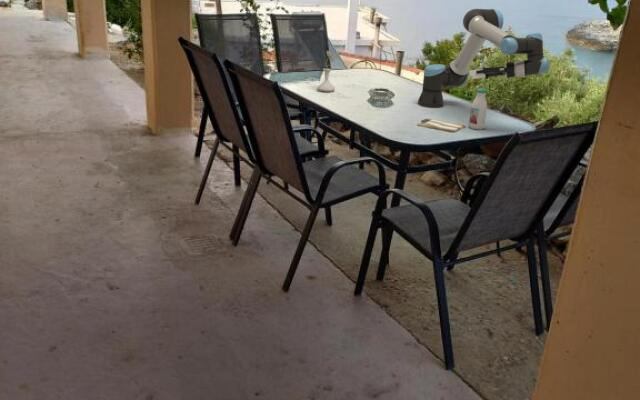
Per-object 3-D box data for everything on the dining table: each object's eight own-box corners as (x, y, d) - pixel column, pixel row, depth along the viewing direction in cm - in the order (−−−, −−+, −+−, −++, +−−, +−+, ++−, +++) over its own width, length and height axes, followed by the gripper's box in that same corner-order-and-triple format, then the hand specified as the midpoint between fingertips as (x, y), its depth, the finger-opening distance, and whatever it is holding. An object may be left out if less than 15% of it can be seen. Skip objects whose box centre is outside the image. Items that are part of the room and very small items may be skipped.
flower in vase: (335, 93, 370) (337, 52, 361) (316, 92, 370) (318, 51, 361) (334, 89, 382) (337, 50, 373) (317, 88, 382) (319, 49, 373)
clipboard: (429, 120, 315) (430, 116, 314) (465, 126, 305) (466, 123, 304) (416, 125, 303) (417, 122, 302) (453, 132, 292) (454, 129, 292)
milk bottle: (481, 126, 308) (487, 88, 300) (485, 130, 301) (491, 91, 293) (466, 125, 307) (472, 87, 300) (470, 129, 300) (476, 90, 293)
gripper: (514, 74, 279) (468, 79, 286) (516, 79, 302) (473, 84, 310) (513, 58, 279) (467, 64, 286) (515, 64, 302) (472, 70, 309)
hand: (470, 74), depth 298 cm, fingers open, 13 cm apart
